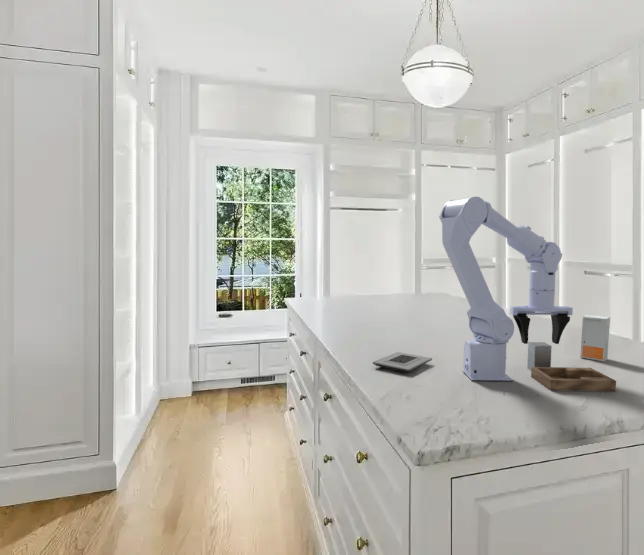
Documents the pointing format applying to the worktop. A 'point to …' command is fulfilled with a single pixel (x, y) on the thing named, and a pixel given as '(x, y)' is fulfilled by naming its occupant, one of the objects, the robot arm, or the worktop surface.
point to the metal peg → (539, 355)
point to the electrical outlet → (402, 361)
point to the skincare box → (595, 337)
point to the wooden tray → (573, 379)
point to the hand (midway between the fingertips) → (539, 343)
